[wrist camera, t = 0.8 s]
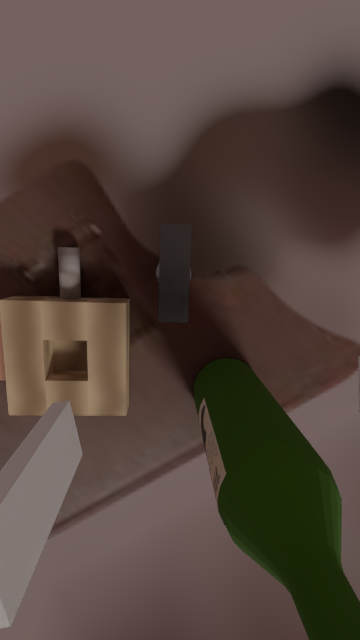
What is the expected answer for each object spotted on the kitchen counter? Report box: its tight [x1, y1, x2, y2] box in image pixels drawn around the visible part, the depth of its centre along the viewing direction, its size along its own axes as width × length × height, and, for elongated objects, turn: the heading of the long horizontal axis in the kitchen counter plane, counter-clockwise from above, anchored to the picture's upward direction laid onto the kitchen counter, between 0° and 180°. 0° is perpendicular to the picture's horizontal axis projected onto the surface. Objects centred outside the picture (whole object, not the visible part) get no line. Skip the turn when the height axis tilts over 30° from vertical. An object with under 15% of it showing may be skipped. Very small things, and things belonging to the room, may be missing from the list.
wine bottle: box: [193, 358, 360, 640], centre depth 25 cm, size 9×9×32 cm
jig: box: [0, 247, 130, 416], centre depth 37 cm, size 14×20×4 cm
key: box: [156, 224, 192, 323], centre depth 30 cm, size 3×8×14 cm, turn 178°
